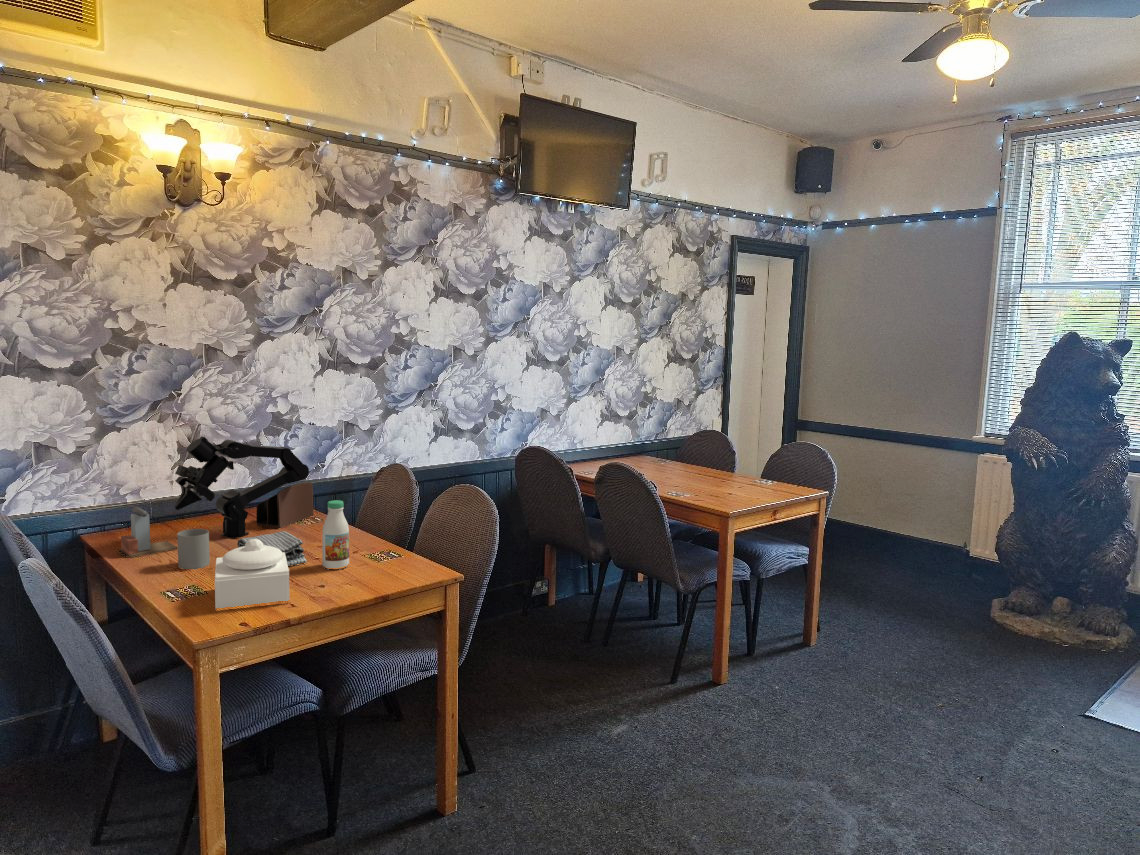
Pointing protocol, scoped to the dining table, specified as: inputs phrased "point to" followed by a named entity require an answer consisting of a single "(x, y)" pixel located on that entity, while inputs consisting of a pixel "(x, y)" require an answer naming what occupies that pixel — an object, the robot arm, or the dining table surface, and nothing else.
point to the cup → (193, 548)
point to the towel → (281, 545)
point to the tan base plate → (131, 549)
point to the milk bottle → (335, 537)
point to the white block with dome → (251, 576)
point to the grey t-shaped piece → (141, 528)
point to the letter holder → (286, 506)
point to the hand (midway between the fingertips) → (175, 509)
